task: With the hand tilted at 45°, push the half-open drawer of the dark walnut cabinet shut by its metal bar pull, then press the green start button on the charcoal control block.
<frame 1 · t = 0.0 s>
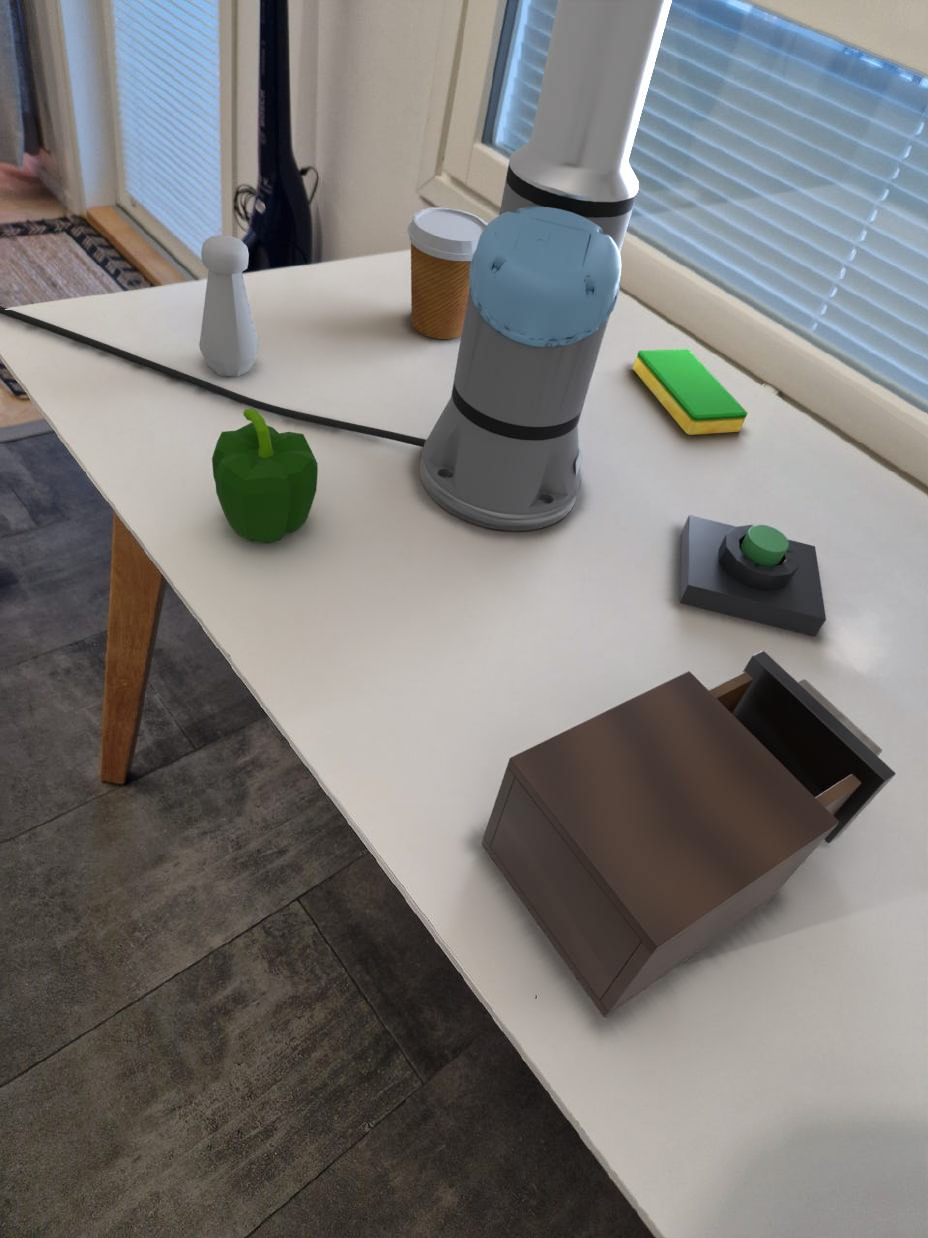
bell pepper: (266, 524, 74), on the table
start button: (764, 545, 75), point 4 cm above the table, slide at 0.1 cm
disposable coffee cup: (437, 327, 103), on the table
salt shaker: (230, 368, 90), on the table
drawer: (756, 769, 57), point 5 cm above the table, slide at 6.0 cm
cabinet: (626, 871, 56), on the table
dish sponge: (683, 400, 100), on the table
control block: (744, 582, 78), on the table
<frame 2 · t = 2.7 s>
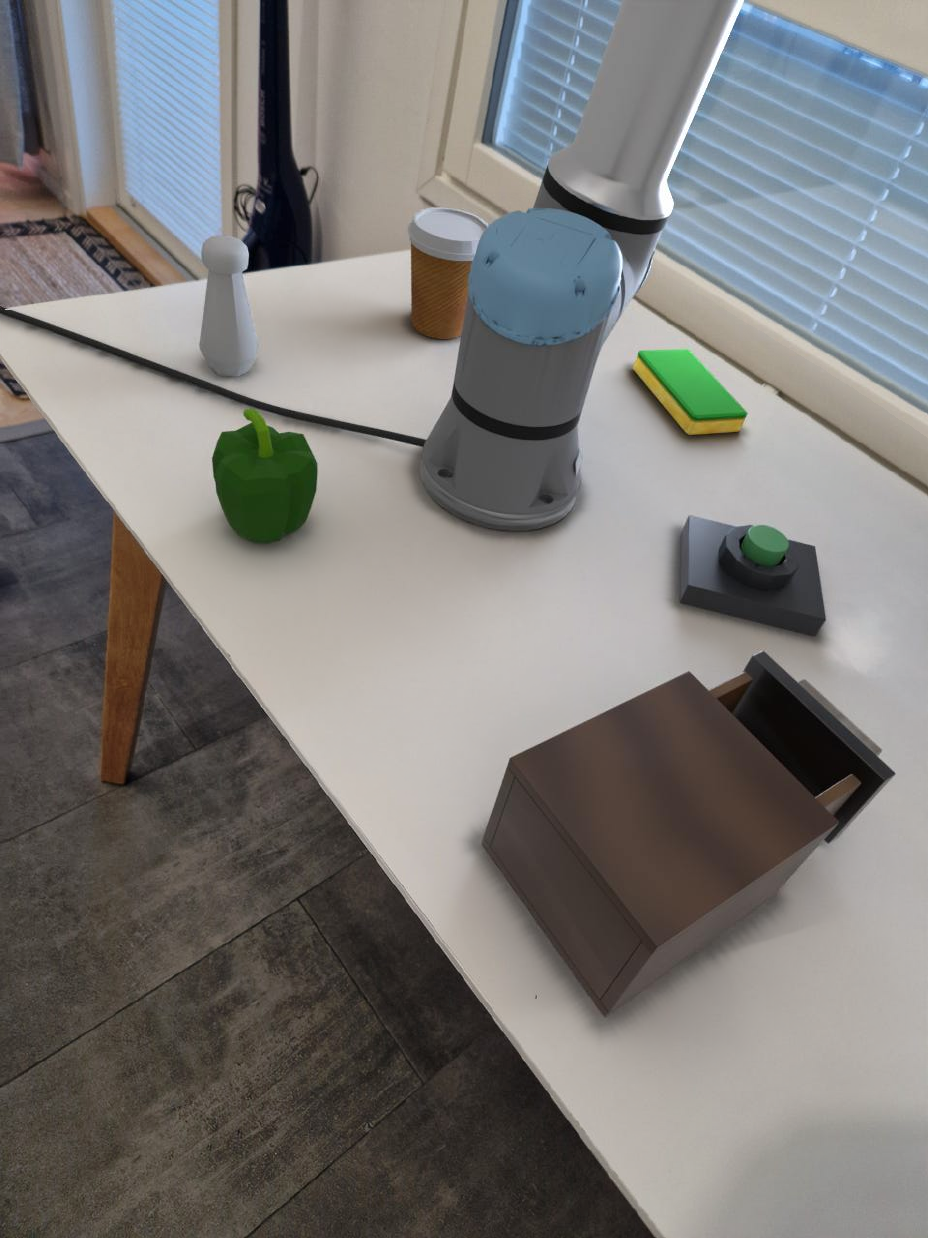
nothing on the table moved.
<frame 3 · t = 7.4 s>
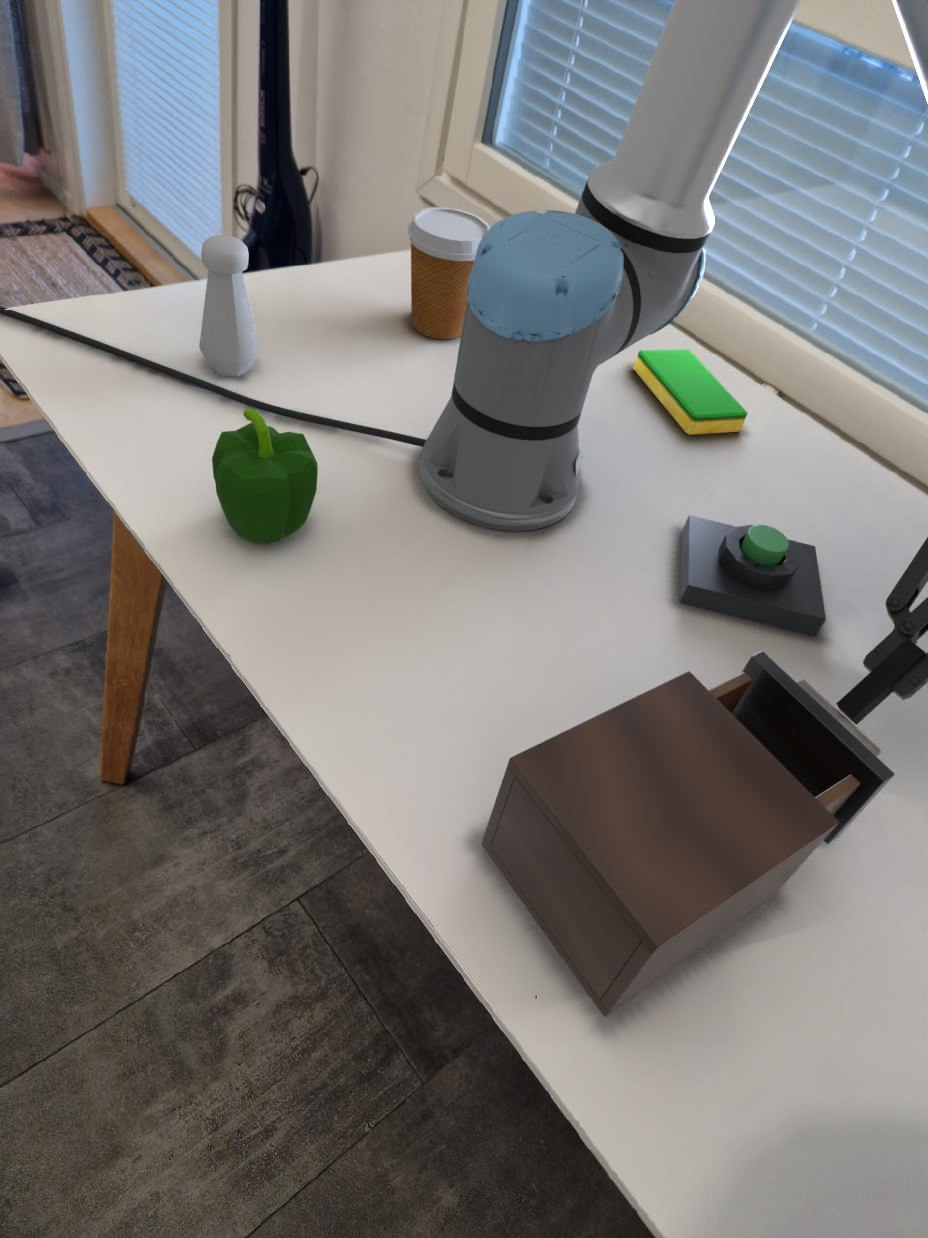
hand: (846, 714, 61), 5 cm above the table, tool tilted 45°, fingers closed
drawer: (755, 770, 57), point 5 cm above the table, slide at 5.9 cm, touching gripper
everything else where it was.
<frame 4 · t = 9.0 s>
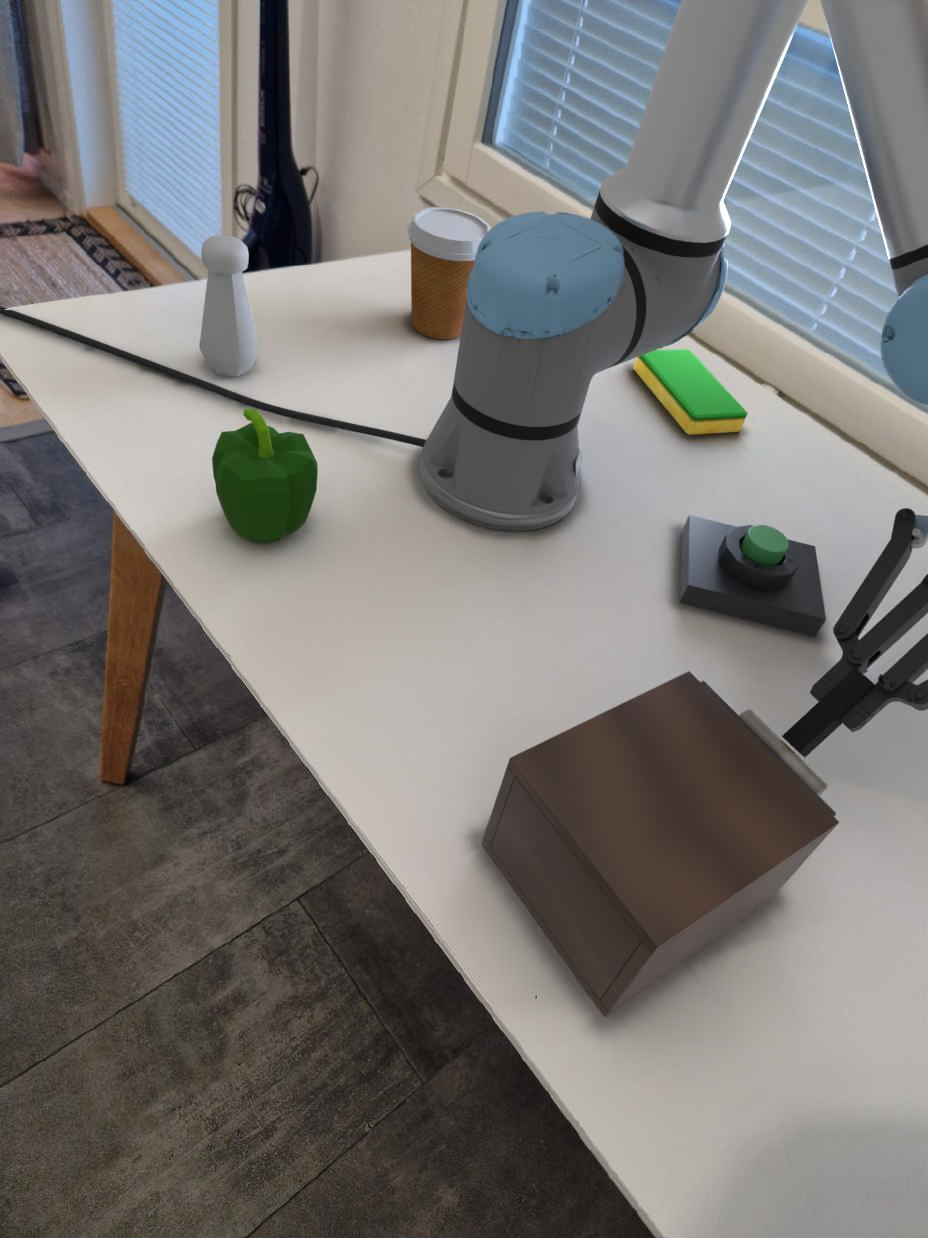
hand: (793, 747, 59), 5 cm above the table, tool tilted 45°, fingers closed
drawer: (693, 807, 54), point 5 cm above the table, slide at 0.0 cm, touching cabinet, gripper
everything else where it was.
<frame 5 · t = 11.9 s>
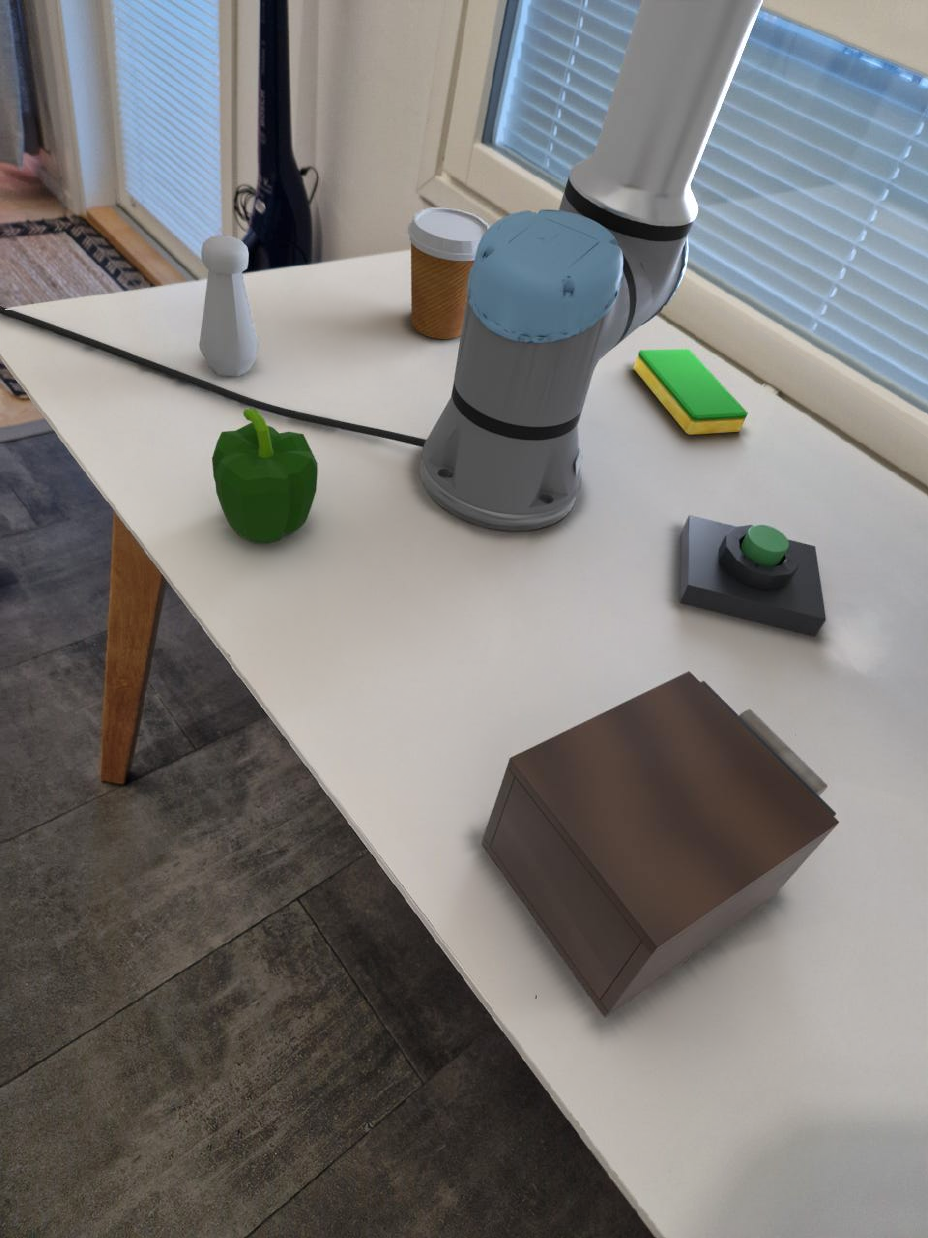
drawer: (693, 807, 54), point 5 cm above the table, slide at 0.0 cm, touching cabinet
everything else where it was.
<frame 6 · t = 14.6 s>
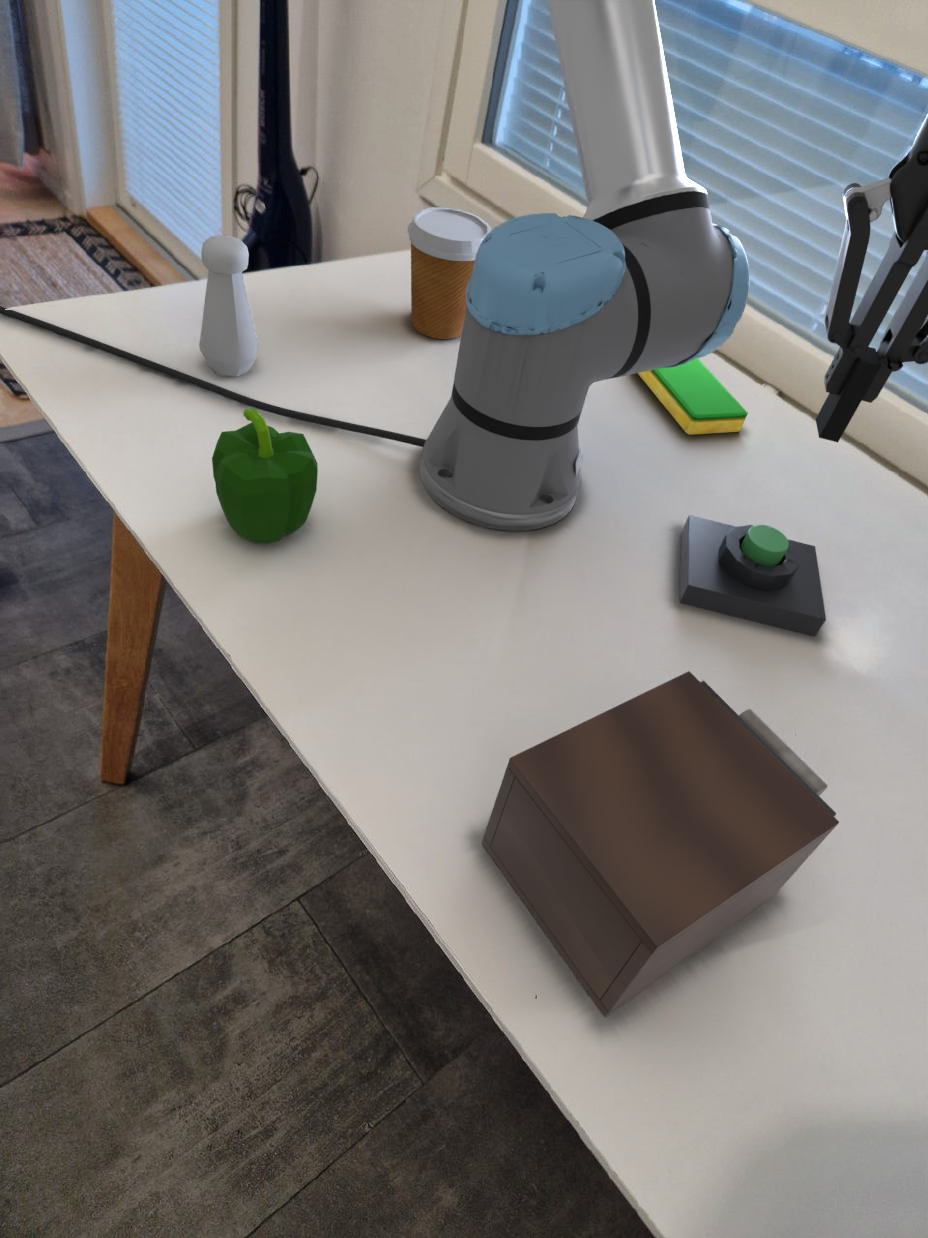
hand: (826, 430, 67), 16 cm above the table, tool pointing down, fingers closed
nothing on the table moved.
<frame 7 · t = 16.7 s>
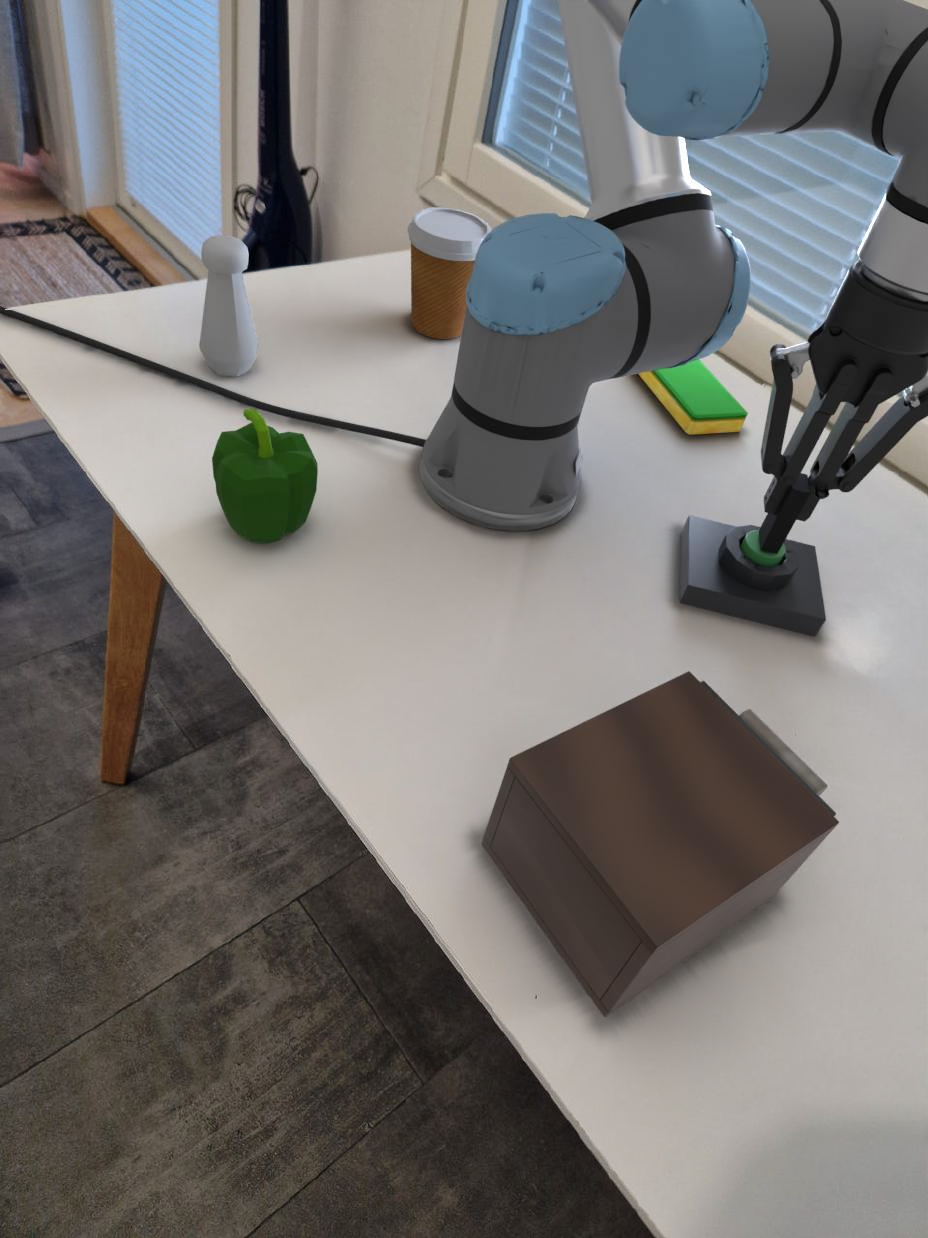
hand: (768, 542, 75), 5 cm above the table, tool pointing down, fingers closed
start button: (761, 550, 76), point 4 cm above the table, slide at -0.6 cm, touching gripper
everything else where it was.
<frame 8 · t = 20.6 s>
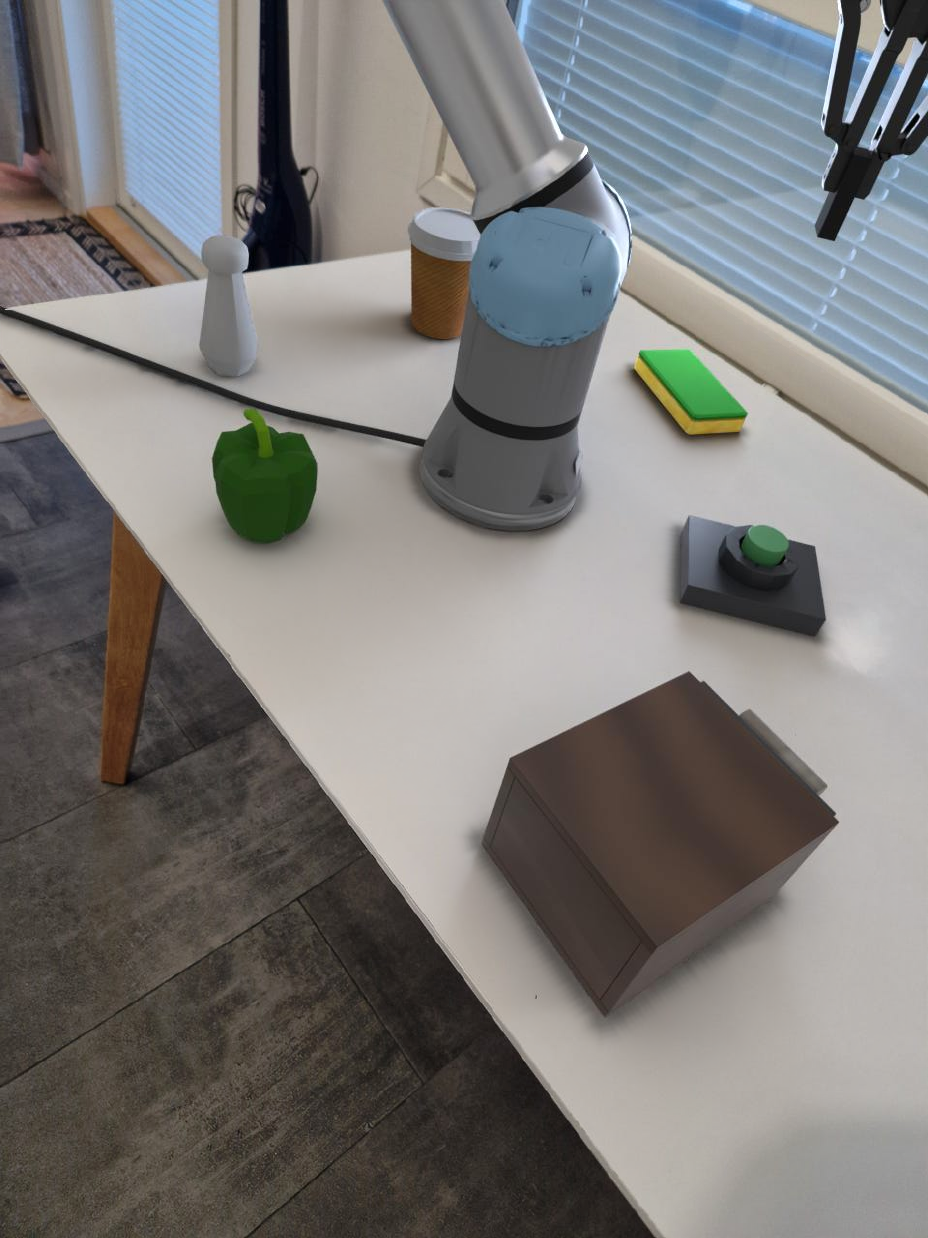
hand: (824, 232, 74), 24 cm above the table, tool pointing down, fingers closed
start button: (764, 545, 75), point 4 cm above the table, slide at 0.1 cm
everything else where it was.
at the end: drawer slide at 0.0 cm; start button pushed in 1.0 cm at the most during the clip, back to where it started at the end; start button slide at 0.1 cm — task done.
